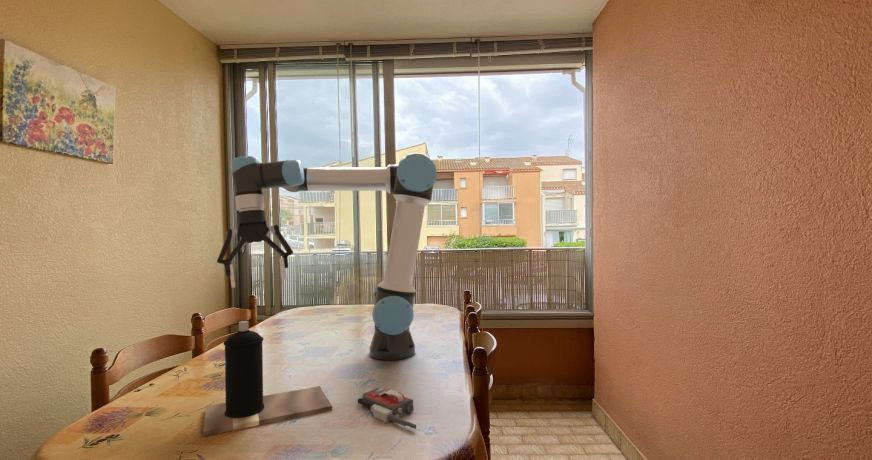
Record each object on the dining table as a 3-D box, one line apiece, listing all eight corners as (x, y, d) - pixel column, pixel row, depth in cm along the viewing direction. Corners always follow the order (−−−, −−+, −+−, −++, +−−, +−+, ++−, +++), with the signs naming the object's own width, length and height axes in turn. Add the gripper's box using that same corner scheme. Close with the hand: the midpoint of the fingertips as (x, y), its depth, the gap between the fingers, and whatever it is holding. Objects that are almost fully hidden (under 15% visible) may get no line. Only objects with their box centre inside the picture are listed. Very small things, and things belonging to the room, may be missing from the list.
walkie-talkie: (349, 409, 98) (412, 436, 85) (349, 390, 98) (412, 414, 85) (378, 397, 104) (440, 420, 91) (378, 380, 104) (439, 400, 91)
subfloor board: (319, 389, 109) (319, 386, 109) (332, 410, 97) (332, 405, 97) (205, 410, 97) (205, 406, 97) (203, 436, 85) (202, 431, 85)
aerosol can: (272, 405, 97) (271, 319, 97) (245, 420, 90) (243, 327, 90) (244, 400, 100) (243, 317, 100) (215, 415, 92) (214, 324, 92)
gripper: (292, 209, 131) (300, 276, 131) (201, 215, 119) (210, 290, 118) (297, 206, 125) (306, 277, 124) (202, 212, 112) (211, 291, 112)
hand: (259, 283), depth 121 cm, fingers open, 13 cm apart
